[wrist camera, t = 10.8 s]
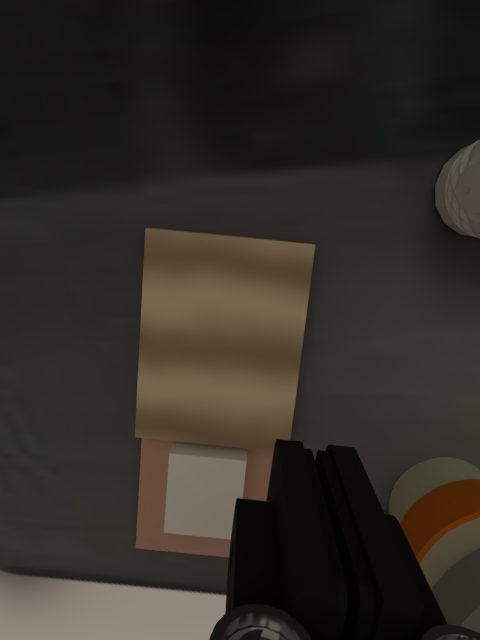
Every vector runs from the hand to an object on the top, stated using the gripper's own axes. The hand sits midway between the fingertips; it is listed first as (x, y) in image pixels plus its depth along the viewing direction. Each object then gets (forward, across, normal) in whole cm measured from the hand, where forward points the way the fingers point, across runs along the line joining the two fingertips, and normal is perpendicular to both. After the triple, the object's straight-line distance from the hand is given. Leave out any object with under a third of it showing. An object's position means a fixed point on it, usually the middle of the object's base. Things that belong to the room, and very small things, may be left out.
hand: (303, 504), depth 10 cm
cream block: (+26, +3, +17) cm, 31 cm away
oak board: (+27, +3, +4) cm, 27 cm away
